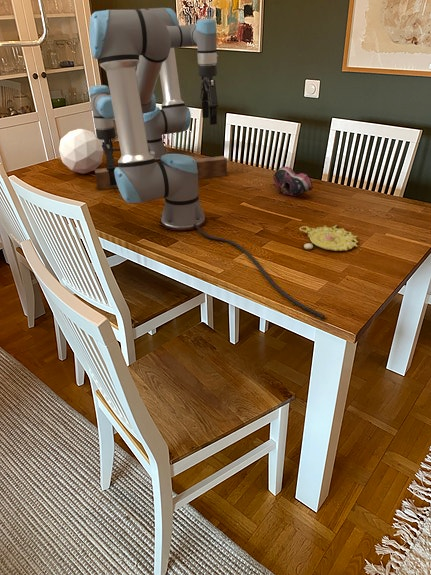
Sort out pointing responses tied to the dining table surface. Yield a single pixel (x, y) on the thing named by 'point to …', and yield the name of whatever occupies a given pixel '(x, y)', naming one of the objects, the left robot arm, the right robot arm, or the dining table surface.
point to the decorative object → (330, 238)
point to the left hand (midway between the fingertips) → (209, 121)
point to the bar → (204, 168)
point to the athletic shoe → (292, 181)
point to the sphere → (81, 151)
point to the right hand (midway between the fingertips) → (112, 179)
